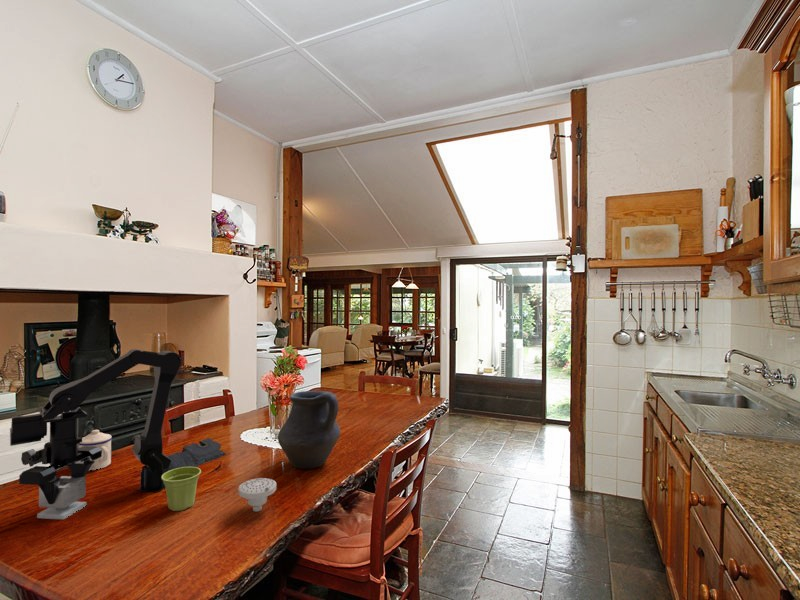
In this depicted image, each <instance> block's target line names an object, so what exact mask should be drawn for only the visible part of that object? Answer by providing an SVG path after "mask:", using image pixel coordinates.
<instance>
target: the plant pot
mask: <svg viewBox="0 0 800 600" xmlns="http://www.w3.org/2000/svg"><path fill="white" fill-rule="evenodd" d="M201 473H202V470H201V468H199V467H198V466H197V467H181V468H176V469H173V470H170V471H168V472H166V473H164V474H163V475H162V477H161V478H162V480H163V482H164V485H165V488H164V489H165V492H166V493H165V494H166V500H167V506H168V507H167V508H168V510H171V511H173V512H179V511H185V510H186V509H188V508H191V507H192V506H194V505H195V501H196V492H197V485H198V480H199V478H200V475H201Z"/></svg>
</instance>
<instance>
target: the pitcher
mask: <svg viewBox="0 0 800 600" xmlns="http://www.w3.org/2000/svg"><path fill="white" fill-rule="evenodd" d="M289 399H290V401H291V403H292V405H291V409H290V412H289V414H288V417H287V418H286V421H285V422H284V424H283V425H282V427H281V428H280V430H279V431H278V434H277V441H278V444H279V446H280V448H281V450H282V451H283V453H284V454H285V456H286V458H287V460H288V461H289V463H290V465H292V466H293V467H294V468H299V469H304V470H308V469H309V470H310V469H311V470H312V469H315V468H320V467H322V466H323V465H324V464H325V463H326V461H327V459H328V458H329V457H330V455H331V453H332V451H333V449H334V448H335V446H336V444H337V442H338V440H339V439H340V436H341V427H340V425H339V423H337V421H336V420H337V416H338V412H339V405H340V404H339V400H338V397H337V395H336V394H335V393H333V392H330V391H325V390H324V391H323V390H322V391H321V390H320V391H319V390H305V391H304V390H303V391H298V392H294V393H293V394H291V395H290V396H289Z"/></svg>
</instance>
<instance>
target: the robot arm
mask: <svg viewBox="0 0 800 600" xmlns="http://www.w3.org/2000/svg"><path fill="white" fill-rule="evenodd" d="M182 361H183V359H182V357H181V356H180V355H179V354H178V353H176V352H174V351H169V350H162V351H159V352H156V351H148V350H141V349H138V348H133V349H130V350H129V351H127V353H124V354H123V355H121V356H119V357H117V358H116V359H115V360H113V361H111V362H109V363H108V364H106V365H104V366H103V367H100V368H99V369H97V370H95V371H94V372H92V373H90V374H89V375H87V376H85V377H82V378H80V379H77V380H73V381H71V382H68V383H66V384H64V385H60V386H59V387H56V388H55V389H53V390H52V391H51V392H50V394H49V396H48V402H47V403H46V404H45V405H44V406H43V407H42V409H41V410H39V412H38V413H35V414H28V415H14V416H13V415H12V417H11V422H10V423H11V425H10V428H9V445H10V446H11V447H13V446H18V445H23V444H30V443H35V442H41V441H42V439H44V438H45V437H46V436H47V435H48V423H49V441H48V442H45V443H44V445H43V448H42V449H39V450H35V449H34V448H32V449H29V450H26V451H24V452H22V453H21V463H22V465H24V466H27V465H29V468H28V469H26V470H23V471H22V472H21V473H20V474H19V478H18V484H19V485H31V486H32V485H33V486H34V485H35V486H38V488H39V487H40V488H41V490H42V492H43V494H44V496H45V498H46V500H47V502H48V504H54V502H55V499H56V495H57V491H58V487H59V483H60V479H61V476H57V472H58V471H60V470H62V469H64V468H66V467H67V468H68V469H69V471H70V476H73V477H86V476H87V474H88V472H90V471H89V469H90V467H91V466H92V464H93V463H95V461H92V460H96V459H98V458H100V457H102V450H101V449H100V448H99V447H94V446H83V447H81V448H79V444H78V443H80V442H82V438H83V437H79V419H80V418H86V417H88V413H87V412H86V411H85V410H84V409H83V410H82V408H81V407H80V405H81V404H82V403H84V402H85V401H86V400H87V399H88V398H89V397H90V396H91V395H92V394H93V393H94V392H95V391H96V390H97V389H100V388H101V387H103V386H104V385H106V384H108V383H110V382H111V381H113V380H114V379H116V378H118V377H119V376H121V375H122V374H125V372H128V371H129V370H131V369H133V368H134V367H136V366H137V365H144V366H150V367H153V375H154V384H153V388H152V394H151V397H150V402H149V406H148V412H147V416H146V420H145V425H144V426H145V427H144V429H143V431H142V432H141V434H140V435H139V434H138V435H137V434H136V435H134V444H133V446H132V447H131V450H132V451H133V455H134V457H135V458H136V459H137V460H138V461H139V462H140V463H141V465H143V466H142V467H141V470H140V471H141V472H140V478H139V479H140V482H139V483H140V484H139V485H140V487H139V488H137V491H138V492H157V493H158V492H161V491H162V490H164V489H166V488H165V485H164V482H163V480H162V478H161V477H162V475H163V474H164V473H166V472H168V471H169V465H170V463H171V460H170V459H169V458H168V457H167V456H168V455H166V454H165V453H163V447H164V446H163V443H164V442H163V436H162V429H163V424H164V422H165V415H166V411H167V407H168V403H169V402H168V401H169V397H170V393H171V389H172V388H171V387H172V384H173V381H174V380H175V379H176V377H177V375H178V374H179V371H180V369H181V365H182V363H183V362H182ZM89 457H90V458H89ZM90 459H92V460H90ZM40 463H41V465H40V466H39V465H38V464H40ZM34 465H35V466H34ZM42 465H43V466H42ZM44 465H49V466H44Z"/></svg>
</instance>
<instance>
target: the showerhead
mask: <svg viewBox="0 0 800 600" xmlns="http://www.w3.org/2000/svg"><path fill="white" fill-rule="evenodd" d="M276 491H277V482H276V481H275V480H274V479H272V478H265V477H258V478H253V479H249V480H245V481H244V482H243V483H241V484H240V485H239V486H238V495H239V496H240V497H241V498H244V499H247V504H248V505H249V506H251V507H252V511H253V512H260V511H262V509H263V505H264V504H266V503H267V502H268V496H271V495H272V494H274V493H275V492H276Z"/></svg>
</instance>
